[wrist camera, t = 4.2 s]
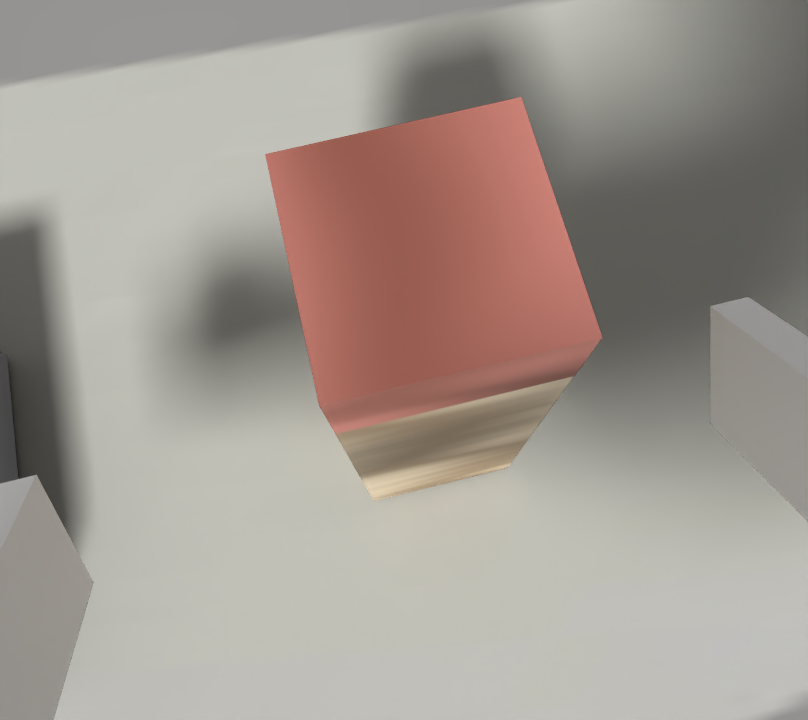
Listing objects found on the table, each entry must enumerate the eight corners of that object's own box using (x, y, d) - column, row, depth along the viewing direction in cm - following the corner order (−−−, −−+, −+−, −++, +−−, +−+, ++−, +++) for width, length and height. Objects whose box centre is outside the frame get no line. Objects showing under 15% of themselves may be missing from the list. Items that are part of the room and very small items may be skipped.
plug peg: (471, 341, 23) (521, 96, 12) (507, 467, 22) (602, 337, 10) (344, 371, 23) (265, 154, 11) (373, 500, 22) (319, 405, 10)
